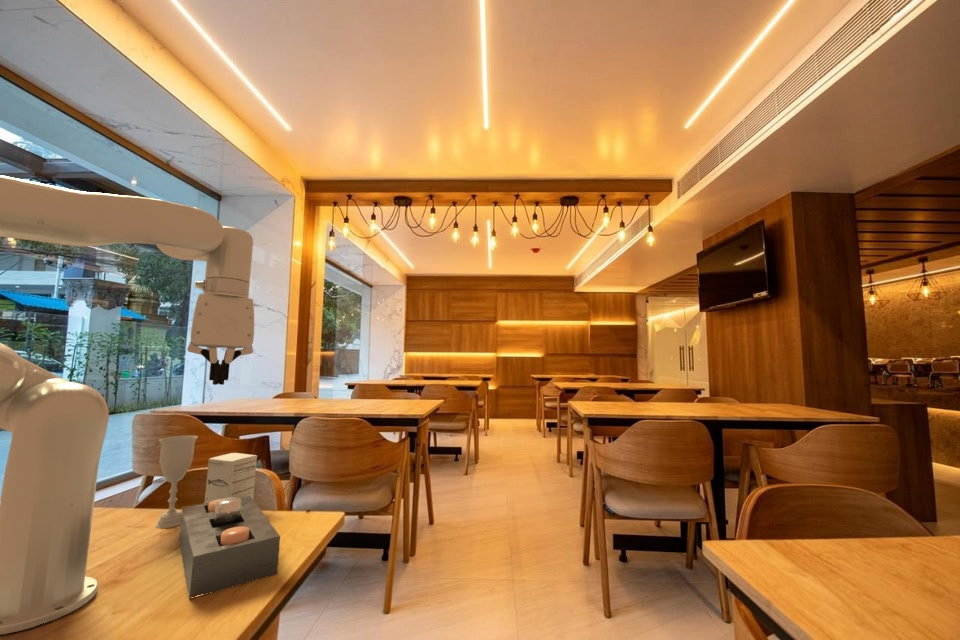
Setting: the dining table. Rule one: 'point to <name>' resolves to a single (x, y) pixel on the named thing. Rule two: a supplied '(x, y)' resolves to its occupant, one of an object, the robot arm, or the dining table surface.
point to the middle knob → (227, 509)
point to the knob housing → (226, 548)
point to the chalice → (174, 472)
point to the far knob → (212, 506)
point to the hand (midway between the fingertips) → (218, 384)
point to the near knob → (234, 535)
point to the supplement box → (230, 476)
